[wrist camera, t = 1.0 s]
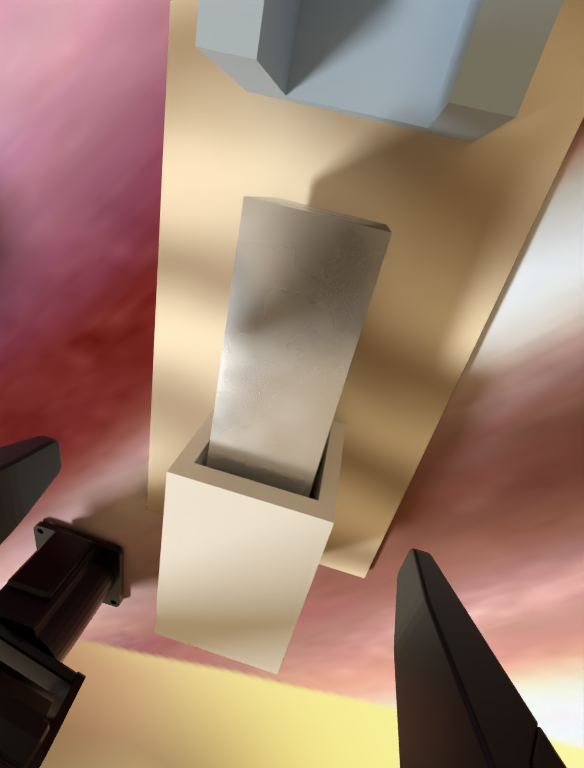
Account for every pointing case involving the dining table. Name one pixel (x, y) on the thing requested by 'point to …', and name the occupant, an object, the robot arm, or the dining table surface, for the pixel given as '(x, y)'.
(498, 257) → the base board
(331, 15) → the socket
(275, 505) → the sleeve
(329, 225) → the extension bar
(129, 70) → the dining table surface
